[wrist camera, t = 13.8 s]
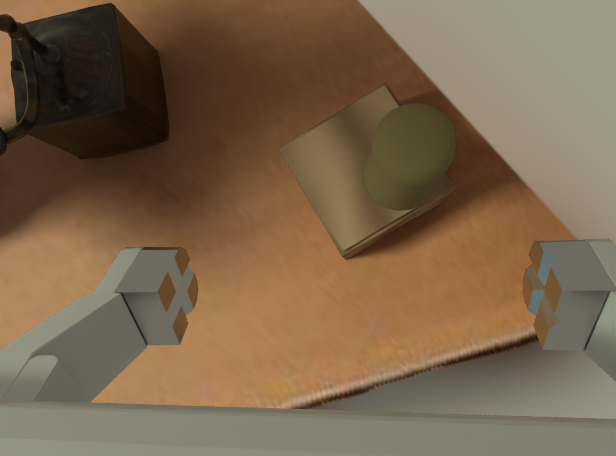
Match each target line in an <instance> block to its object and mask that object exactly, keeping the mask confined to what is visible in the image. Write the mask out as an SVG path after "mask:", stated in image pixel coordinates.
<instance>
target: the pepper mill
mask: <svg viewBox="0 0 616 456" xmlns="http://www.w3.org/2000/svg"><path fill="white" fill-rule="evenodd" d="M0 30H1V31H3V32H6V33H8V34H9V36H10V38H11V46H12V61H11V78H12V82H13V87H14V94H15V109H16V121H17V124H16V125H15V126H13V127H11V128H9V129H7V130H5V131H3V130H2V129H1V128H0V156H2V155H3V154H4V152H5V151H6V149H7V145H8V144H11V143H13V142H15V141H16V140H18V139H20V138H22V137H24V136H25V135H26V134H28V135H30V136H33V137H35V138H37V139H40V140H42V141H44V142H47V143H49V144H51V145H54V146H56V147H58V148H61V149H63V150H65V151H67V152H70V153H72V154H74V155H76V156H77V157H78V158H79V159H85V158H96V157H106V156H110V155H115V154H120V153H125V152H130V151H135V150H139V149H144V148H147V147H150V146H153V145H155V144H158V143H161V142H164V141H166V140H168V131H169V123H168V114H167V105H166V97H165V90H164V83H163V77H162V72H161V66H160V60H159V54H158V51H157V50H156V49H154V47H153V46H152V45H151V44H150V43H149V42H148V41H147V40H146V39H145V38H144V37H143V36H142V35H141V34H140V33H139V31H138V30H137V29H136V28H135V27H134V26H133V25H132V24H131V23H130V22H129V21H128V20H127V19H126V18H125V16H124V15H123V14H122V13H121V12H120V11H119V10H118V9H117V8H116V6H115V5H113V4H112V3H108V4H103V5H98V6H92V7H88V8H84V9H80V10H76V11H72V12H68V13H64V14H60V15H56V16H52V17H48V18H43V19H39V20H35V21H31V22H27V23H24V24H21V23H20V22H16V21H15V20H14V19H13V18H12V17H11V16H10V15H8V14H3V15H0Z"/></svg>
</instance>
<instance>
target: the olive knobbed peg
mask: <svg viewBox="0 0 616 456" xmlns="http://www.w3.org/2000/svg"><path fill="white" fill-rule="evenodd" d="M455 151H456V137H455V131H454V129H453V126H452V124H451V122H450V120H449V119H448V118H447V117H446V116H445V115H444V114H443V113H442V112H441V111H440V110H438V109H436V108H434V107H432V106H430V105H427V104H421V103H411V104H404V105H402V106H399V107H397V108H395V109H393V110H391V111H390V112H389V113H388V114H387V115H385V116H384V117H383V118H382V119H381V120H380V122H379V124H378V125H377V127H376V129H375V131H374V135H373V140H372V153H371V155H370V157H369V158H368V160H367V162H366V165H365V169H364V183H365V186H366V188H367V191H368V193H369V195H370V196H371V197H372V198H373V199H374V200H375V201H376V202H377V203H378V204H380V205H382V206H383V207H385V208H387V209H391V210H396V211H403V210H410V209H413V208H415V207H417V206H420V205H421V204H422V203H423V202H425V201H426V200H427V199H428V198H429V197H430V195H431V194H432V192H433V190H434V189H435V185H436V181H437V179H438V178H439V177H440V176H441V175H442V174H443V173H444V172H446V171H447V169H448V168H449V166H450V164H451V163H452V161H453V159H454V156H455Z"/></svg>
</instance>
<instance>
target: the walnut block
mask: <svg viewBox="0 0 616 456" xmlns="http://www.w3.org/2000/svg"><path fill="white" fill-rule="evenodd" d="M399 106H401V105H400V103H399V102H398V101H397V99H396V98H395V96H394V95H393V93H392V92H391V90H390V89H389V87H388V86H387V84H386V83H384V84H383V85H381V86H379V87H378V88H376V89H375V90H373V91H371V92H370V93H368V94H367V95H365V96H363V97H362V98H360V99H358V100H357V101H355V102H354V103H352V104H350V105H349V106H347V107H346V108H344V109H342V110H341V111H339V112H338V113H336V114H334V115H333V116H331V117H330V118H328V119H326V120H325V121H323V122H321V123H320V124H318V125H317V126H315V127H313V128H312V129H310V130H309V131H307V132H305V133H304V134H302V135H301V136H299V137H297V138H296V139H294V140H293V141H291V142H289V143H288V144H286V145H284V146H283V147H281V148H280V149H278V150H279V152H280V154H281V155H282V157H283V159H284V160H285V162H286V164H287V165H288V167H289V169H290V170H291V172H292V174H293V175H294V177H295V179H296V180H297V182H298V184H299V185H300V187H301V189H302V190H303V192H304V194H305V195H306V197H307V199H308V200H309V202H310V204H311V205H312V207H313V209H314V210H315V212H316V214H317V215H318V217H319V219H320V220H321V222H322V224H323V225H324V227H325V229H326V230H327V232H328V234H329V235H330V237H331V239H332V240H333V242H334V244H335V245H336V247H337V249H338V250H339V252H340V254H341V255H342V257H343V258H344V259H346V260H347V259H348V258H350V257H352V256H353V255H355V254H357V253H358V252H360V251H362V250H363V249H365V248H367V247H368V246H370V245H372V244H373V243H375V242H377V241H378V240H380V239H382V238H383V237H385V236H387V235H388V234H390V233H392V232H394V231H395V230H397V229H399V228H400V227H402V226H404V225H405V224H407V223H409V222H410V221H412V220H414V219H415V218H417V217H419V216H420V215H422V214H424V213H425V212H427V211H429V210H430V209H432V208H434V207H435V206H437V205H439V204H440V203H442V202H444V201H445V200H446V199H447V198H448V197H449V196H450V195H451V194H452V192H453V191H454V190H455V189H456V187H455V185H454V184H453V182H452V181H451V179H450V178H449V176H448V175H447V173H446V172H444V173H443V174H442V175H441V176H440V177H439V178H438V179H437V181H436V185H435V189H434V190H433V192H432V194H431V195H430V197H429V198H428V199H427V200H426V201H425V202H423V203H422V204H421V205H420V206H417V207H415V208H413V209H410V210H403V211H396V210H391V209H387V208H385V207H383V206H382V205H380V204H378V203H377V202H376V201H375V200H374V199H373V198H372V197H371V196H370V195H369V193H368V191H367V188H366V186H365V183H364V169H365V165H366V162H367V160H368V158H369V157H370V155H371V153H372V140H373V135H374V131H375V129H376V127H377V125H378V124H379V122H380V120H381V119H382V118H383V117H384V116H385V115H387V114H388V113H389V112H390V111H391V110H393V109H395V108H397V107H399Z"/></svg>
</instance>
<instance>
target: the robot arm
mask: <svg viewBox="0 0 616 456" xmlns="http://www.w3.org/2000/svg"><path fill="white" fill-rule="evenodd" d="M529 256H530V259H531V261H532V264H531V265H530V266H529V267H528V268H526V269H525V272H524V277H523V296H524V301H525V304H526V306H527V309H528V310H529V311H530V312H531V313H533V314H534V315H535V316H536V318H535V322H534V328H535V331H536V333H537V336H538V338H539V341H540V344H541V346H542V349H545V350H571V351H585V354H586V355H587V356H589V358H591V359H592V360H593V361H594V362H595V363H596V364H597V365H598V366H599V367H601V368H602V369H603V370H604V371H605V372H606V373H607V374H608V375H609V376H610V377H611V378H613V379H614V380H615V381H616V245H615V244H614V243H613V241H611V240H609V239H586V240H566V241H534V243H533V244H532V246H531V249H530V253H529ZM189 261H190V258H189V256H188V253H187V251H186V249H184V248H182V247H144V248H142V247H126V248H124V249H122V250H121V251H120V253H119V254H118V256H117V257H116V259H115V260H114V262H113V264H112V265H111V267H110V268H109V270H108V271H107V273H106V274H105V276H104V278H103V279H102V281H101V282H100V284H99V285H98V287H97V289H96V290H95V292H94V293H87V294H86V295H84V296H83V297H81V298H80V299H78V300H77V301H75V302H73V303H72V304H70V305H69V306H67V307H66V308H64V309H63V310H61V311H59V312H58V313H56V314H55V315H53V316H52V317H50V318H48V319H47V320H45V321H44V322H42V323H41V324H39V325H38V326H36V327H34V328H33V329H31V330H30V331H28V332H27V333H25V334H24V335H22V336H20V337H19V338H17V339H16V340H14V341H13V342H11V343H10V344H8V345H6V346H5V347H3V348H2V349H0V456H616V419H593V418H559V417H530V416H498V415H465V414H433V413H431V414H430V413H402V412H370V411H339V410H308V409H277V408H246V407H214V406H182V405H151V404H119V403H90V402H91V401H92V400H93V399H94V398H95V397H96V396H97V395H98V394H99V393H100V392H101V391H102V390H103V389H104V388H105V387H106V386H107V385H108V384H110V383H111V382H112V381H113V380H114V379H115V378H116V377H117V376H118V375H119V374H120V373H121V372H122V371H123V370H124V369H125V368H126V367H127V366H128V365H129V364H130V363H131V362H132V361H133V360H134V359H135V358H136V357H137V356H138V355H139V354H140V353H141V352H143V351H144V350H145V349H146V348H147V346H146V345H180V343H181V341H182V338H183V336H184V333H185V331H186V328H187V325H188V321H187V318H186V315H187V314H188V313H190V312H191V311H192V310H193V309H194V307H195V304H196V301H197V295H198V284H197V279H196V276H195V273H194V272H193V271H192V270H190V269H189V268H188V267H187V265H188V263H189Z"/></svg>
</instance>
